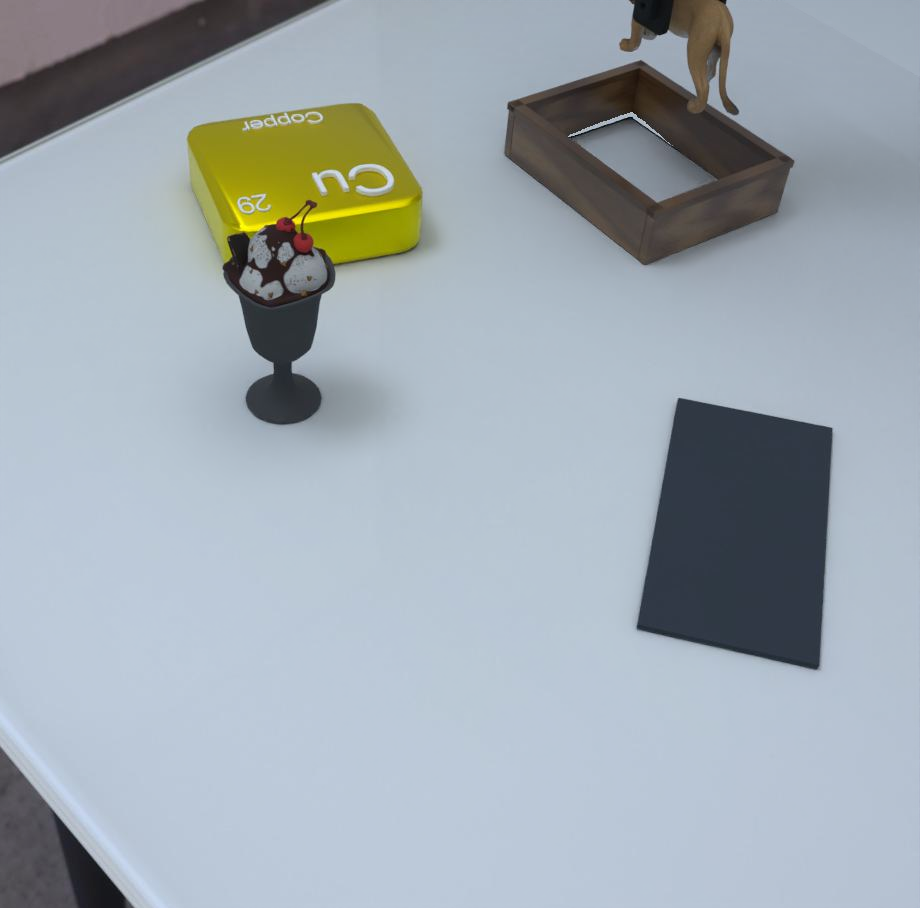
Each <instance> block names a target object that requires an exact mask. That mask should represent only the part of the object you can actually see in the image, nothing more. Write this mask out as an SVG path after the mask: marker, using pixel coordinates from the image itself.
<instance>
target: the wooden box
mask: <svg viewBox="0 0 920 908" xmlns="http://www.w3.org/2000/svg"><path fill="white" fill-rule="evenodd" d="M692 98H695V99H697V95H696V94H694V93H692V92H691V91H689V90H688V89H686V88H685V87H683V86H682V85H680V84H679V83H677V82H676V81H674V80H673V79H671V78H669V77H668V76H666V75H665V74H663V73H662V72H660V71H659V70H657V69H656V68H654V67H652V66H651V65H649V64H648V63H647V62H645V61H644V60H642V59H640V60H636V61H633V62H630V63H626V64H624V65H620V66H617V67H614V68H611V69H608V70H605V71H601V72H598V73H595V74H593V75H589V76H586V77H583V78H579V79H577V80H574V81H570V82H567V83H563V84H561V85H558V86H554V87H552V88H551V87H550V88H548V89H545V90H542V91H539V92H535V93H533V94H530V95H526V96H523V97H520V98H515V99H513V100H510V101H508V102H507V104H506V105H507V106H506V110H507V111H508V112H507V113H508V114H507V123H506V133H505V142H504V150H503V151H504V152H503V154H505V155H504V156H506V157H507V158H508V159H510V160H511V161H512V162H513V163H515V164H516V165H517V166H519V167H520V168H521V169H522V170H524V171H525V172H526V173H527V174H529V175H530V176H531V177H533V178H534V179H535V180H536V181H537V182H539V183H540V184H541V185H542V186H544V187H546V189H548V190H549V191H550V192H552V194H554V195H555V196H557V197H558V198H559V199H560V200H562V201H563V202H564V203H565V204H567V205H568V206H569V207H570V208H572V209H573V210H574V211H576V212H577V213H578V214H579V215H580V216H582V217H583V218H585V219H586V220H587V221H588V222H589V223H591V224H592V225H593V226H594V227H596V228H597V229H599V230H600V231H601V232H602V233H604V235H606V236H607V237H609V238H610V239H611V240H612V241H614V242H615V243H616V244H617V245H619V246H620V247H621V248H623V249H624V250H625V251H626V252H628V253H629V254H630V255H631V256H633V257H634V258H635V259H636V260H638V261H639V262H640V263H642V264H643V265H644V266H645V265H649V264H650V263H654V262H656V261H658V260H661V259H664V258H666V257H668V256H671V255H673V254H676V253H678V252H681V251H684V250H686V249H689V248H691V247H694V246H697V245H698V244H700V243H703V242H706V241H708V240H711V239H714V238H716V237H719V236H721V235H724V234H726V233H729V232H731V231H734V230H737V229H739V228H741V227H744V226H747V225H749V224H752V223H754V222H757V221H759V220H761V219H763V218H767V217H769V216H771V215H774V214H777V213H778V212H779V209H780V205H781V202H782V199H783V194H784V191H785V188H786V185H787V181H788V177H789V174H790V171H791V169H792V168H793V167H794V166H795V165H794V164H795V159H793V158H792V157H790V156H789V155H787V154H785V153H784V152H782V151H781V150H780V149H778V148H776V147H775V146H774V145H772V144H770V143H768V142H767V141H765V140H764V139H763V138H762V137H760V136H758V135H756V134H755V133H754V132H752V131H750V130H749V129H747V128H746V127H744V126H743V125H741V124H740V123H738V122H737V121H735V120H734V119H732V118H730V117H729V116H728V115H726V114H724V113H723V112H721V111H719V109H717V108H715V107H714V106H713V105H711V104H709V103H708V102H707V105H706V107H705V109H704V110H703V111H702V112H700V113H697V114H693V113H691V112H689V111H688V110H687V103H688V102H689V100H690V99H692ZM630 112H633V113H634V114H636V115H637V117H638V118H640V119H642V120H643V121H645V122H646V124H648V125H649V126H650V127H651V128H652V129H654V130H655V131H656V132H657V133H659V134H660V135H661V136H662V137H663V138H664V139H665V140H666V141H667V142H669V143H670V144H671V145H673V146H674V147H673V148H674V149H675V148H676V149H677V150H676V149H675V150H676V151H678V152H680V153H681V154H682V155H683V156H685V157H686V158H688V159H689V160H690V161H692V162H693V163H695V164H696V165H698V166H699V167H701V168H702V169H704V170H705V171H707V173H709V174H711V175H712V176H713V177H715V178H717V179H716V180H713V181H711V182H708V183H706V184H702V185H700V186H698V187H696V188H693V189H691V190H688V191H685V192H682V193H679V194H677V195H674V196H671V197H669V198H666V199H663V200H661V201H658V202H657V201H656V200H655V199H653V198H652V197H651V196H649V195H648V194H646V193H645V192H643V191H642V190H641V189H640V188H638V187H637V186H635V185H634V184H633V183H631V182H630V181H629V180H627V179H626V178H625V177H624V176H622V175H621V174H619V173H618V172H617V171H615V170H614V169H613V168H611V167H610V166H608V165H607V164H606V163H605V162H603V161H602V160H600V159H599V158H598V157H596V156H595V155H593V153H591V152H589V151H588V150H587V149H586V148H584V147H583V146H581V145H580V144H579V143H578V142H576V141H574V140H573V139H572V137H571V138H569V137H568V136H569V135H570V134H573V133H576V132H578V131H581V130H582V129H585V128H587V127H590V126H593V125H595V124H598V123H600V122H603V121H607V120H610V119H612V118H615V117H618V116H620V115H624V114H627V113H630ZM671 145H670V146H671Z"/></svg>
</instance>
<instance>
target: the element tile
mask: <svg viewBox="0 0 920 908" xmlns="http://www.w3.org/2000/svg"><path fill="white" fill-rule="evenodd" d="M186 145H187V155H188V167H189V177H190V178H189V179H190V185H191V187H192V190H193V192H194V194H195V197H196V199H197V201H198V204H199V206H200V209H201V211H202V214H203V216H204V218H205V220H206V223H207V226H208V228H209V230H210V232H211V235H212V237H213V240H214V243H215V245H216V247H217V250H218V251H219V254H220V257H221V259H222V261H223V263H224V264H225V263H226V262H228V261H229V260H230V258H231V257H232V254H231V251H230V248H229V245H228V242H227V236H230V235H234V234H236V233H237V234H239V233H242V232H245V233H246V234H247V235H248V237H249V238H250V239H251V238H252V237H253V236H254V235H255V234H256V233H257V232H258V231H259V230H260V229H261V228H263V227H264V226H265V225H271V224H276V222H277V220H278V219H280V218H283V217H288V218H291V217H292V216H294V215H295V214H296V213H298V212H299V210H300V209H301V208H302V207H303V206H304V205H305V204H306V202H305V201H306V200H311V201H313V202H316V203H317V207H316V208H313V209H312V210H311V211H310V212H309V213H308V214H307V215H306V217H305V220H304V224H303V230H304V233H306V234H309V235H310V236H311V237H312V238H313V246H314V247H316V248H319V249H323V250H325V251H326V254H327V255H328V256H329V257H330V258H331V260H332V263H333V265H338V264H343V263H350V262H355V261H361V260H362V261H363V260H368V259H372V258H377V257H378V258H379V257H384V256H385V257H386V256H391V255H395V254H396V255H397V254H400V253H404V252H408V251H409V250H411V249H413V248H415V247H416V246H417V245H418V243H420V239H421V226H422V213H423V211H422V210H423V188H422V186H421V185H420V183H419V181H418V179H417V178H416V176H415V175H414V174H413V171H412V170H411V168H410V167H409V165H408V164H407V161H406V160H405V159H404V157H403V156H402V154H401V152H400V150H399V149H398V148H397V146H396V145H395V143H394V142H393V140H392V138H391V137H390V135H389V134H388V132H387V130H386V128H385V127H384V126H383V124H382V122H381V120H380V118H379V117H378V116H377V114H376V113H375V112H374V111H373V110H372V109H371V108H369V107H368V106H366V105H364V104H362V103H359V102H346V103H337V104H336V103H335V104H327V105H322V106H315V107H307V108H302V109H301V108H300V109H296V110H295V109H294V110H293V109H292V110H287V111H280V112H273V113H266V114H259V115H253V116H245V117H238V118H231V119H225V120H218V121H209V122H205V123H202V124H199V125H196V126H193V128H191V129H190V130H189V131H188V134H187V137H186ZM309 208H310V205H308V206H306V207H305V208H304V209H303V210H302V211H301V212H300V213H299V214H298V215H297V216H296V217H295V218H294V219H292V220H293V222H294V223H295V226H296V227H295V230H296V231H297V233H301V230H300V226H301V221H302V218H303V216H304V215H305V213H306V212H307V211H308V210H309ZM224 264H223V265H224Z"/></svg>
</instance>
